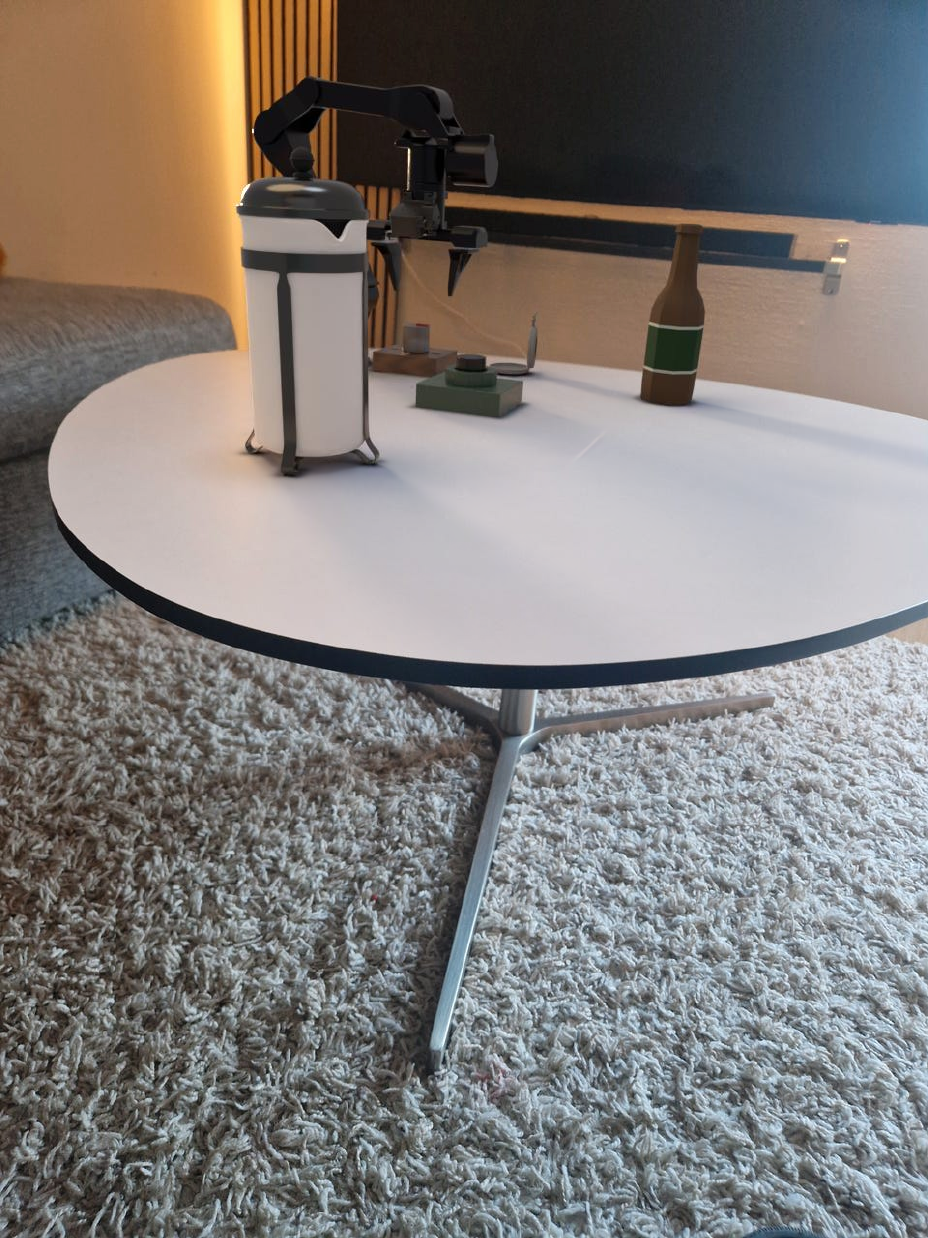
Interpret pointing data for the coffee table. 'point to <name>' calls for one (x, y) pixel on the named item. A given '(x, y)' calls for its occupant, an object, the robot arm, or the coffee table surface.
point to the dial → (416, 338)
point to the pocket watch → (531, 355)
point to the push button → (471, 363)
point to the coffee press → (307, 314)
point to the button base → (469, 392)
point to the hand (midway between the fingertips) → (423, 293)
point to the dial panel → (413, 361)
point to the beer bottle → (675, 327)
